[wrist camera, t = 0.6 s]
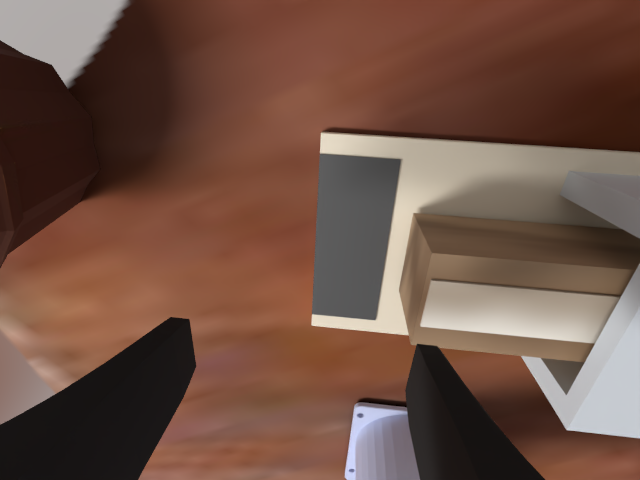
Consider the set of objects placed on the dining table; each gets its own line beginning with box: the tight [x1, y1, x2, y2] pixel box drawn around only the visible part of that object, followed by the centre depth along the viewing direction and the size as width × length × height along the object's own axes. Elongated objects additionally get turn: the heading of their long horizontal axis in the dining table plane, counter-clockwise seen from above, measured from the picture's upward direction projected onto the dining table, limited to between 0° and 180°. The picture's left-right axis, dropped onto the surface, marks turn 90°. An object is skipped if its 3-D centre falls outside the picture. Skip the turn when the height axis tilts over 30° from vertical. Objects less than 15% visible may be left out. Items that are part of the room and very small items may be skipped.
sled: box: [399, 213, 640, 362], centre depth 15 cm, size 5×19×4 cm, turn 87°
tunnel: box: [312, 132, 640, 438], centre depth 15 cm, size 12×28×7 cm, turn 87°
